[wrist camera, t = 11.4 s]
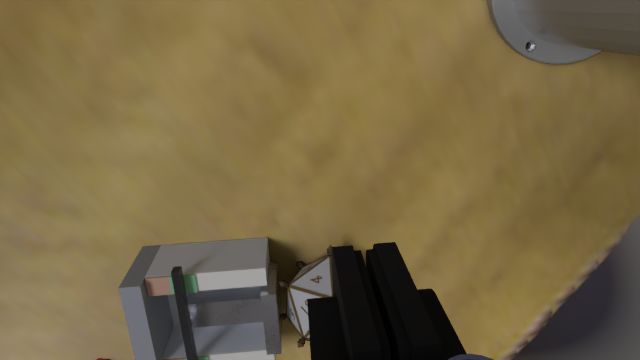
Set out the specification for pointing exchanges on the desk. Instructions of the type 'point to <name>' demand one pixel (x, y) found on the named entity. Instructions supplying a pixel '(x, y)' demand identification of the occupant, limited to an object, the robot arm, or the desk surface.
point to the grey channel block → (230, 309)
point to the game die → (307, 292)
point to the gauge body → (199, 274)
